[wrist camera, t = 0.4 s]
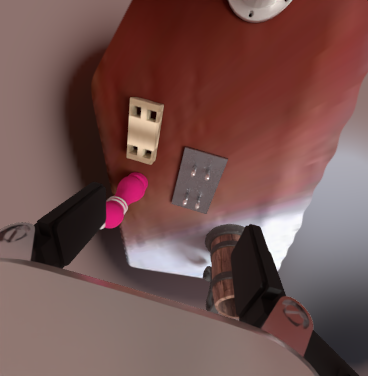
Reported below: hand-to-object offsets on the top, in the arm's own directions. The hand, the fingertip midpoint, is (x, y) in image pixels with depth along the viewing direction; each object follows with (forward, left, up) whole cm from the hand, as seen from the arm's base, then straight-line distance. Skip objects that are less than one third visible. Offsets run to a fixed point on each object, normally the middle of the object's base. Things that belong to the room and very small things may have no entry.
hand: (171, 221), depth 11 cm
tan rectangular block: (+5, -14, -34) cm, 37 cm away
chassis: (+15, +2, -34) cm, 37 cm away
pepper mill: (+20, -14, -34) cm, 42 cm away
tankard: (+37, +18, -34) cm, 53 cm away
